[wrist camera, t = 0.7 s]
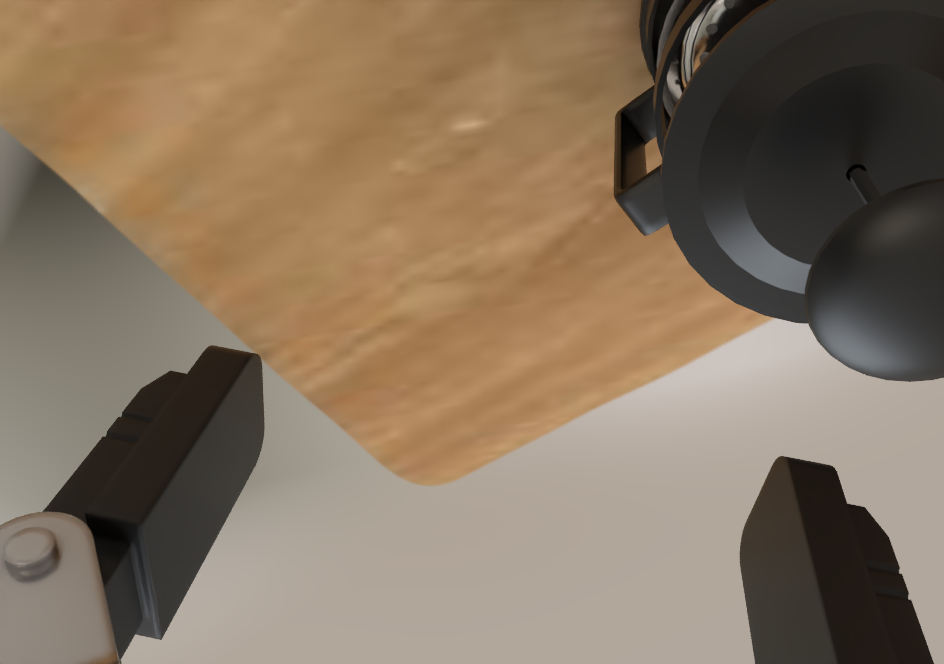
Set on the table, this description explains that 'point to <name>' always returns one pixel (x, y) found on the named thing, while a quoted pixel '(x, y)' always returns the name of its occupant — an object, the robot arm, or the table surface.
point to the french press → (801, 165)
